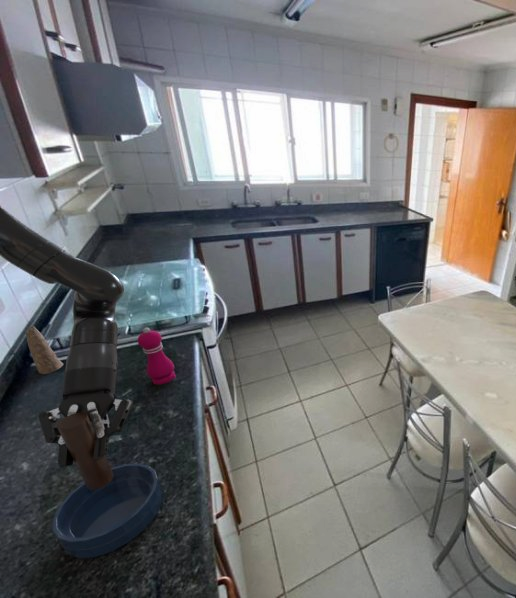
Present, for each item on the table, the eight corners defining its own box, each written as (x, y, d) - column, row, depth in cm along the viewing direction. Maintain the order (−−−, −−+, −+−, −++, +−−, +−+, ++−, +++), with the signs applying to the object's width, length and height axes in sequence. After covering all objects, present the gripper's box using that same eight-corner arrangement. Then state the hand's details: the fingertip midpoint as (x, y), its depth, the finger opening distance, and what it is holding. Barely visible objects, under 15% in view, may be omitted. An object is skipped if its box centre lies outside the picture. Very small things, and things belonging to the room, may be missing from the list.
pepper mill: (146, 383, 107) (125, 331, 98) (167, 370, 113) (149, 320, 104) (161, 389, 104) (141, 336, 96) (182, 376, 110) (165, 324, 102)
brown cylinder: (83, 493, 62) (52, 431, 56) (91, 475, 66) (62, 415, 59) (110, 486, 64) (82, 425, 57) (116, 469, 67) (90, 409, 61)
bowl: (48, 575, 60) (35, 556, 57) (81, 496, 73) (72, 477, 70) (155, 538, 66) (148, 520, 64) (168, 472, 79) (162, 454, 77)
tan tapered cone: (72, 369, 111) (49, 373, 109) (51, 320, 105) (27, 323, 103) (60, 379, 105) (36, 383, 103) (37, 327, 99) (12, 331, 98)
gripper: (31, 372, 59) (15, 475, 54) (126, 360, 64) (120, 455, 59) (58, 377, 66) (46, 470, 61) (142, 367, 71) (138, 452, 66)
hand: (83, 462), depth 60 cm, fingers closed on brown cylinder, 4 cm apart
